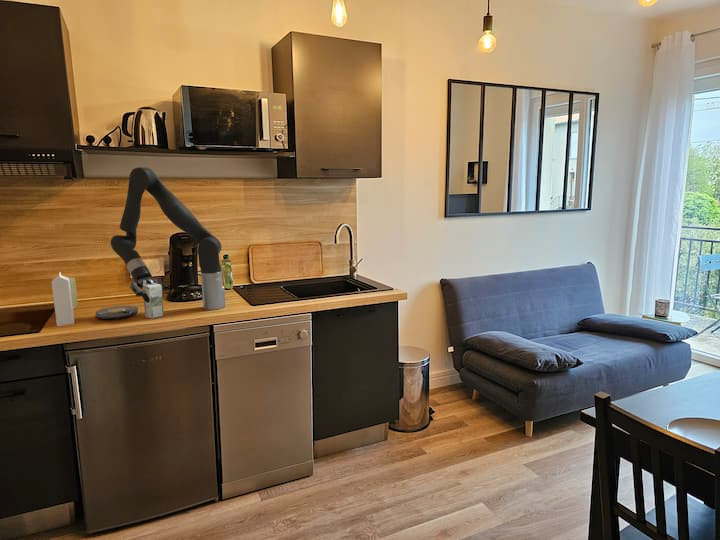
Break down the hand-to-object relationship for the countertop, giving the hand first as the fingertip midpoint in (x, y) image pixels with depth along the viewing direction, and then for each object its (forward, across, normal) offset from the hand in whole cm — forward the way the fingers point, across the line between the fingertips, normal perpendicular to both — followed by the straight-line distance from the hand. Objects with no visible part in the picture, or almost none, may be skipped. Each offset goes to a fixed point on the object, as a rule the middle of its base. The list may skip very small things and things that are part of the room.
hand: (155, 300), depth 212 cm
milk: (-10, -28, +22) cm, 37 cm away
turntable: (-7, -9, +17) cm, 20 cm away
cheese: (-25, -20, +36) cm, 48 cm away
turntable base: (-6, -9, +17) cm, 21 cm away
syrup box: (+4, 0, +7) cm, 8 cm away
